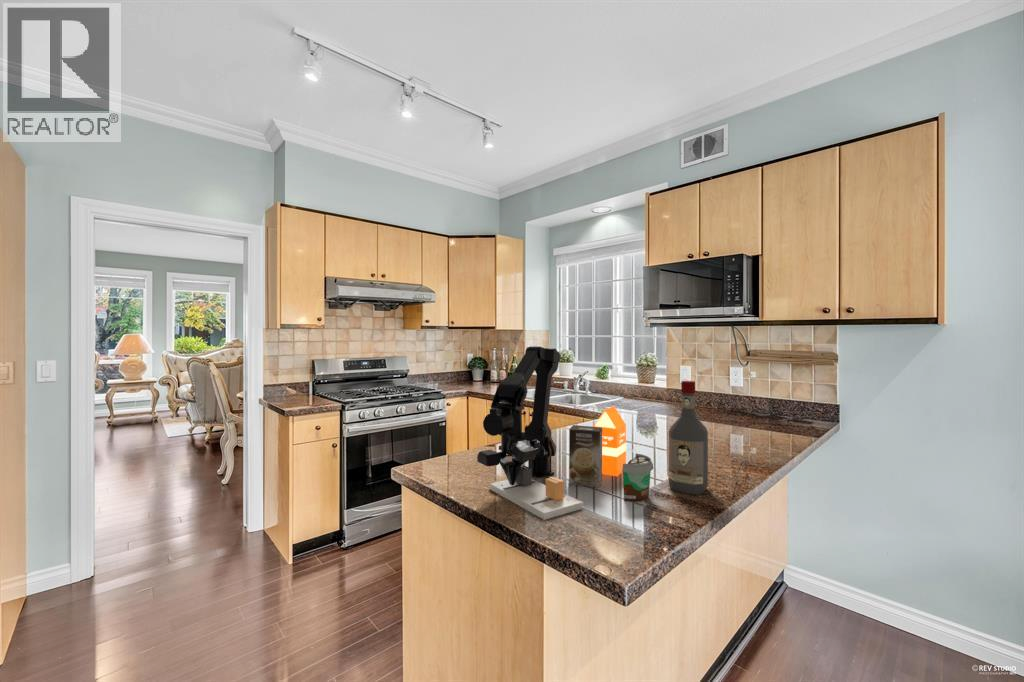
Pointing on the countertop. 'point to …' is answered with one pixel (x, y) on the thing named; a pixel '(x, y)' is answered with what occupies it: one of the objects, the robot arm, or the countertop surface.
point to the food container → (637, 478)
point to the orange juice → (612, 441)
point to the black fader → (524, 476)
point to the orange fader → (554, 488)
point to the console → (536, 499)
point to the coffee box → (585, 455)
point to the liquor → (688, 447)
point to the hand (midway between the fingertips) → (511, 484)
